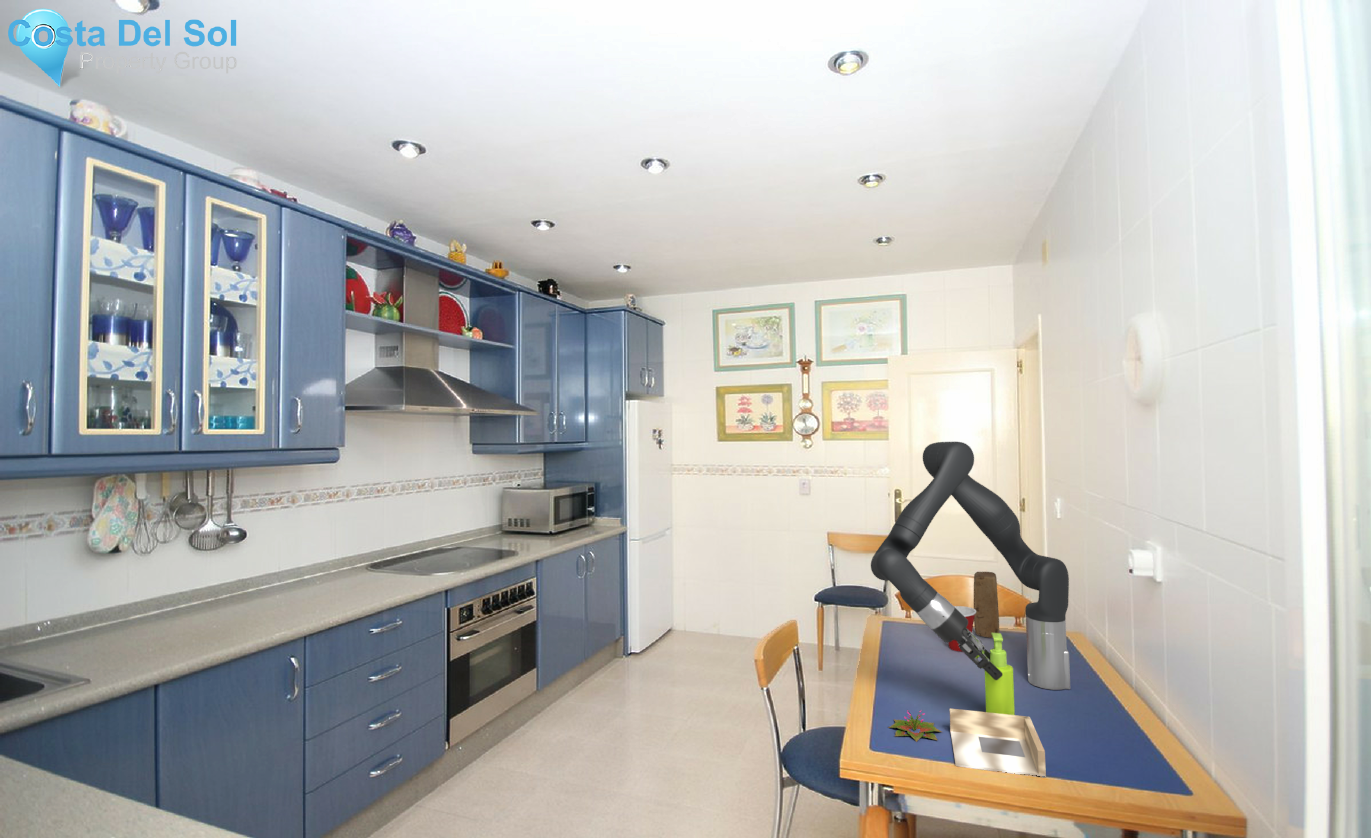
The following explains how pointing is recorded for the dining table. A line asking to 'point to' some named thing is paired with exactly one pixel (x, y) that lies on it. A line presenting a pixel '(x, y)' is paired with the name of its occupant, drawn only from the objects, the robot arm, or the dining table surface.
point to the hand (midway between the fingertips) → (997, 670)
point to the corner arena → (996, 742)
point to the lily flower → (914, 728)
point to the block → (986, 604)
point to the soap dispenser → (999, 682)
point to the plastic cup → (969, 615)
